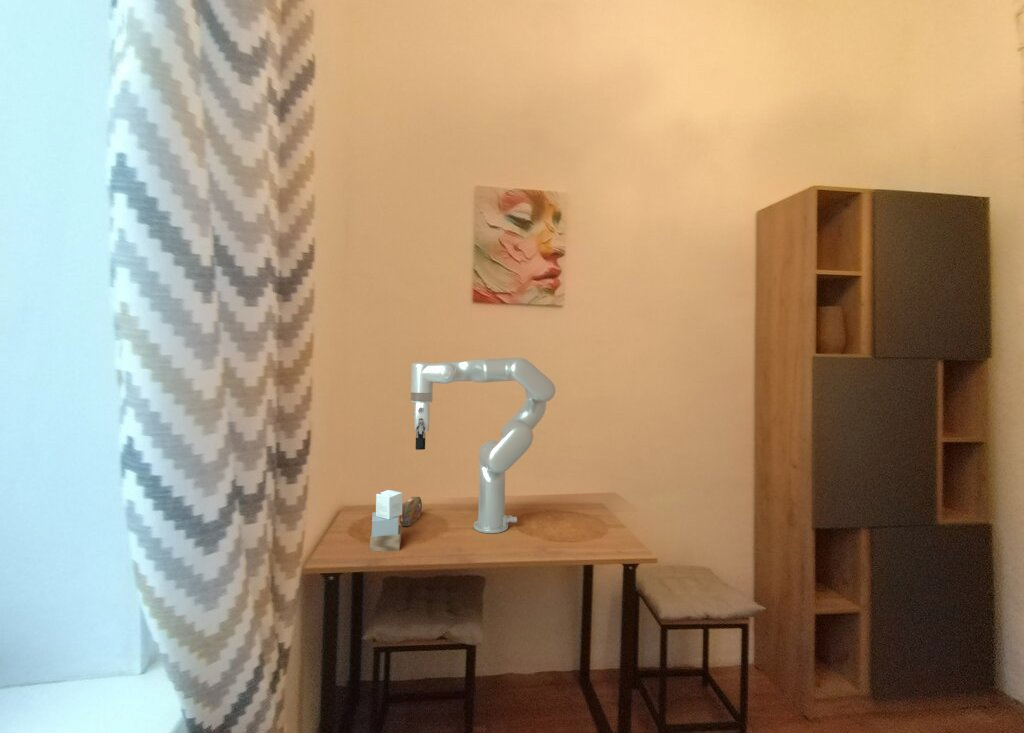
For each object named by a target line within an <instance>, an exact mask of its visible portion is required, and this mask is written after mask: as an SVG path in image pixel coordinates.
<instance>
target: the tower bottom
mask: <svg viewBox="0 0 1024 733" xmlns="http://www.w3.org/2000/svg"><path fill="white" fill-rule="evenodd" d="M369 537H370V538H369V552H370V551H372V552H371V553H374V552H373V551H382V552H398V551H400V549H401V543H402V542H401V541H402V525H401V524H398V535H389V536H377V537H372V532H371V534H370V536H369Z"/></svg>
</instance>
